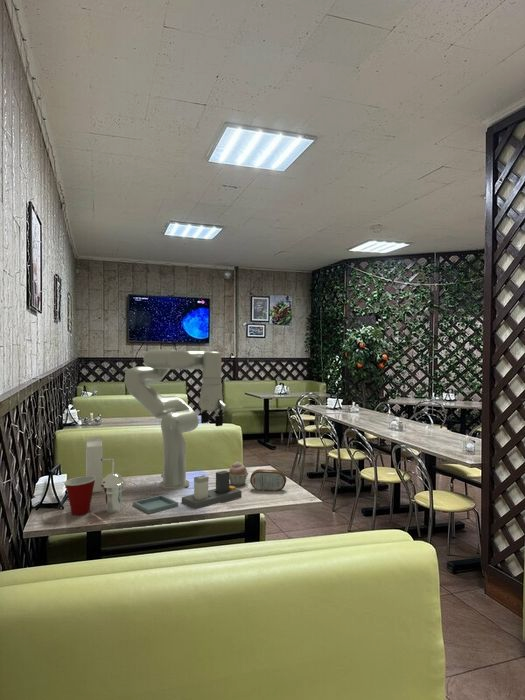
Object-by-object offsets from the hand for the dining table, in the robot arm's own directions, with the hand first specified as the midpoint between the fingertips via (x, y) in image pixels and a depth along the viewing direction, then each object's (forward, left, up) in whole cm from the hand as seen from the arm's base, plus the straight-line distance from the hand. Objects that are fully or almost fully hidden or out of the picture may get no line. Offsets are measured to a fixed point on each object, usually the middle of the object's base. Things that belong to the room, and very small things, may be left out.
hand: (211, 424), depth 182 cm
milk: (-37, -33, -28) cm, 57 cm away
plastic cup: (-15, -47, -28) cm, 57 cm away
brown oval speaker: (+11, +21, -29) cm, 37 cm away
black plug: (+6, +1, -28) cm, 29 cm away
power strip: (+6, -4, -28) cm, 29 cm away
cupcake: (-4, +17, -28) cm, 33 cm away
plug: (+6, -9, -28) cm, 30 cm away
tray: (-2, -24, -28) cm, 37 cm away
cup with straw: (-8, -38, -28) cm, 48 cm away
